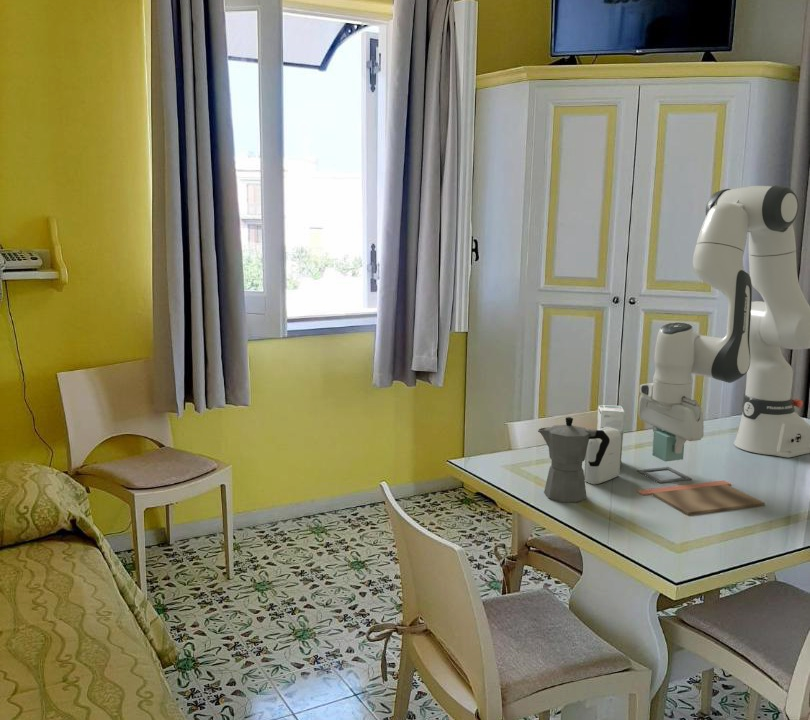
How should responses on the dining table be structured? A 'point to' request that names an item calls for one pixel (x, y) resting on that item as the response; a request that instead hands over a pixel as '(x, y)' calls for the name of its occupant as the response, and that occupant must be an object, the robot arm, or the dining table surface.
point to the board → (708, 499)
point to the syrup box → (611, 419)
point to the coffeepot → (569, 459)
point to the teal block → (665, 446)
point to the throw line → (682, 487)
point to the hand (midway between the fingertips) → (668, 448)
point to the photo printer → (609, 461)
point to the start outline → (665, 480)
